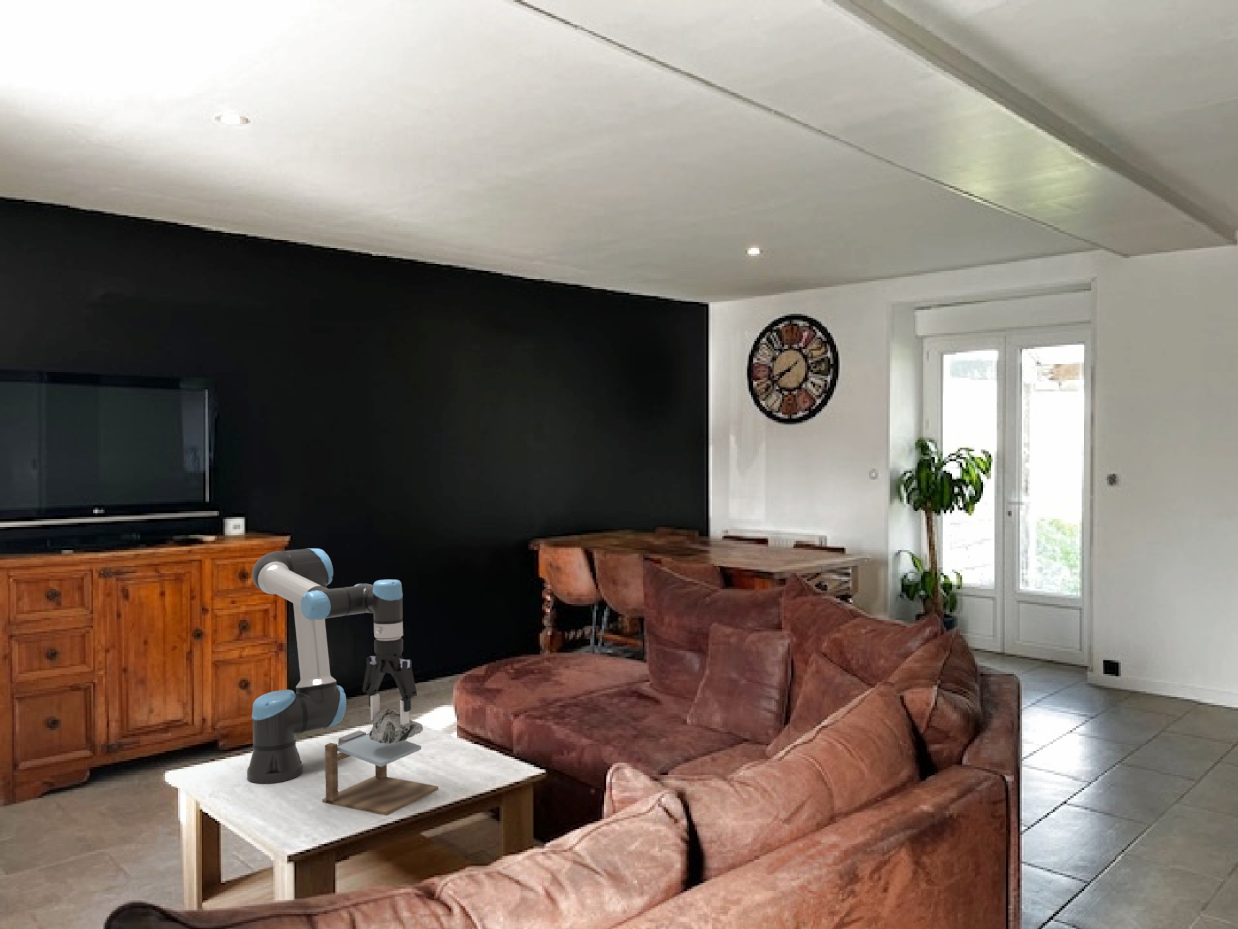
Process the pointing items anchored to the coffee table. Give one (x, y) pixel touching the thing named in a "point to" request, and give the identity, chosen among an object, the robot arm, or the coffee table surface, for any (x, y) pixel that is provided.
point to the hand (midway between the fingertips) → (389, 721)
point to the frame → (370, 788)
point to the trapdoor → (374, 748)
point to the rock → (392, 728)
